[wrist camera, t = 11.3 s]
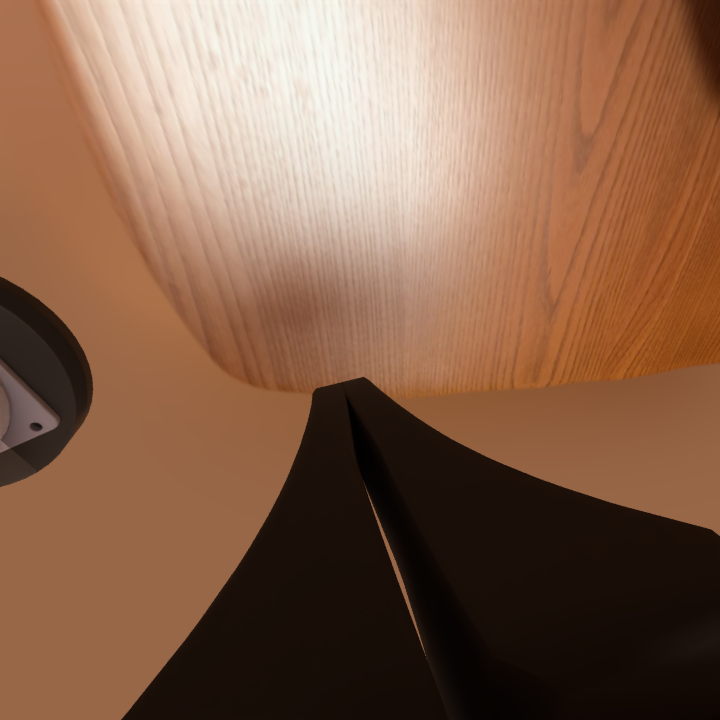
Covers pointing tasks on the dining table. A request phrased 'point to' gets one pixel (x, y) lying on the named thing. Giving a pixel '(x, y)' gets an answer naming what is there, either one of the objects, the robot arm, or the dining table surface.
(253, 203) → the dining table surface
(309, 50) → the dining table surface
